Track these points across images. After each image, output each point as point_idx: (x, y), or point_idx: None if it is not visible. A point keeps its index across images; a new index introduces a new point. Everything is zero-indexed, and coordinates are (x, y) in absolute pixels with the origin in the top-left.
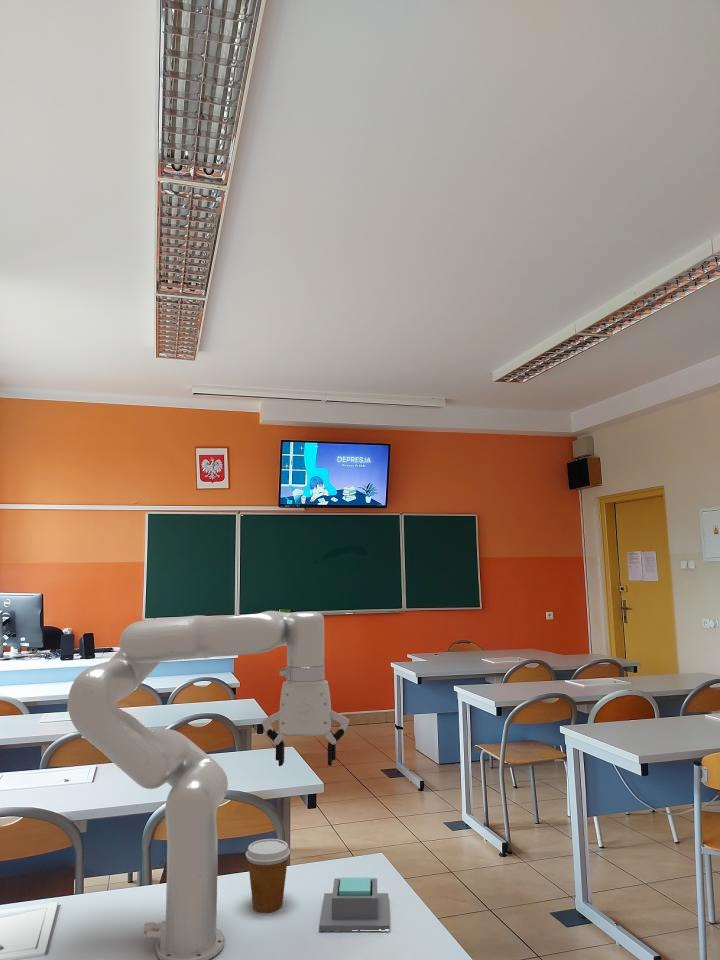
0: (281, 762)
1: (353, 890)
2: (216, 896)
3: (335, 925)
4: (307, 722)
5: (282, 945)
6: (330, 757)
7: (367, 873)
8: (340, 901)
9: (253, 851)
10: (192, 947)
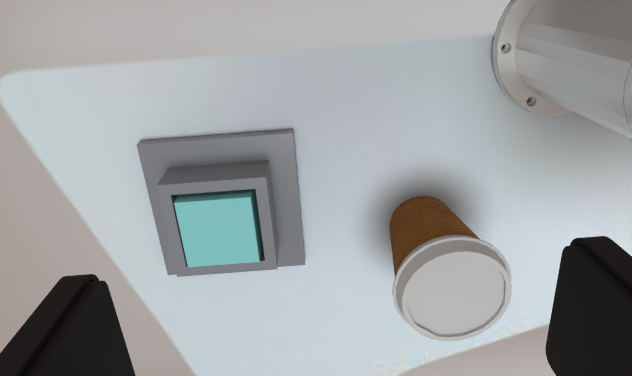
0: (589, 258)
1: (215, 202)
2: (562, 66)
3: (256, 135)
4: None
5: (363, 69)
6: (30, 323)
7: (234, 360)
8: (245, 176)
9: (493, 272)
10: None
